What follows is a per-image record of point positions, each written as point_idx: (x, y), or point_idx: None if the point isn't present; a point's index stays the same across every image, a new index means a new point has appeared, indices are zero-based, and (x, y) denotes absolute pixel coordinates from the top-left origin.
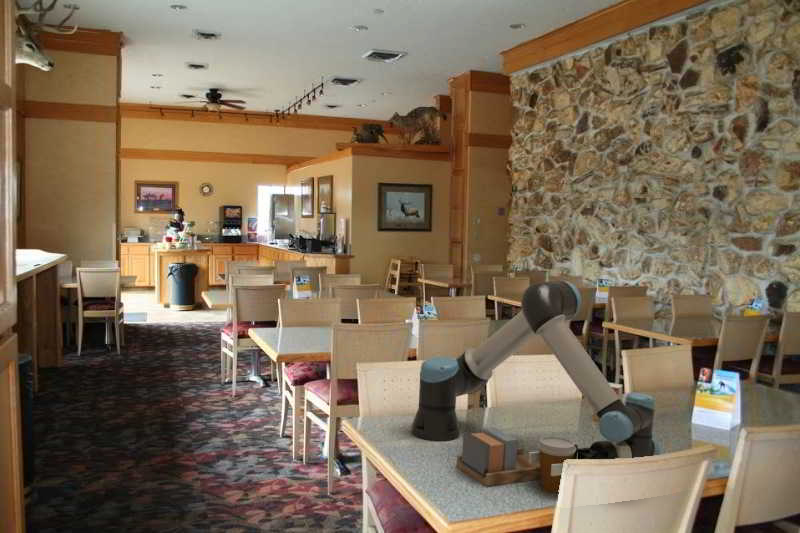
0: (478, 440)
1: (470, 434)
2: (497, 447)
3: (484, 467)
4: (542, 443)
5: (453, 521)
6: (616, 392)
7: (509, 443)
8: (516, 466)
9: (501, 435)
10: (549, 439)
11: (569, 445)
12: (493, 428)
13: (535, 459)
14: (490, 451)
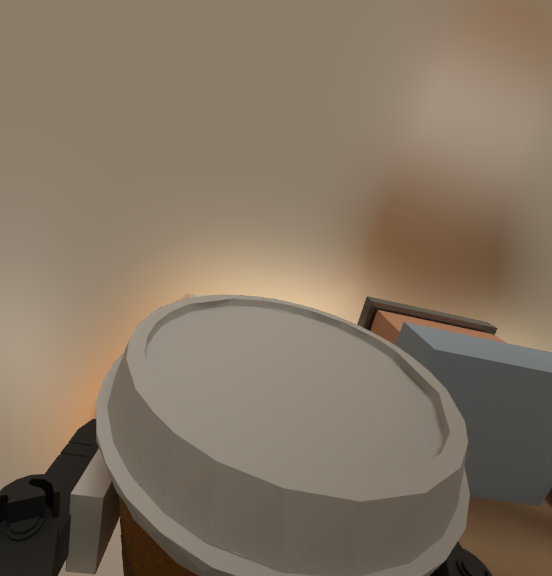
0: (410, 306)
1: (469, 320)
2: (387, 331)
3: None
4: (295, 305)
5: (189, 295)
6: None
7: (407, 340)
8: (478, 553)
9: (480, 344)
10: (402, 386)
11: (200, 400)
12: None
13: None
14: (372, 328)
